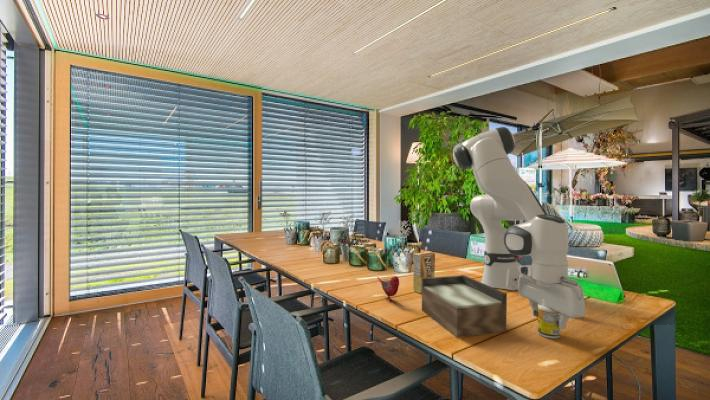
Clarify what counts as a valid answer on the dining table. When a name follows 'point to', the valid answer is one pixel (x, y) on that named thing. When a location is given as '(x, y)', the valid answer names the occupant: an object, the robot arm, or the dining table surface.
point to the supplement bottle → (548, 321)
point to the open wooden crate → (464, 305)
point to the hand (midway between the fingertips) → (548, 321)
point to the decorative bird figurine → (390, 286)
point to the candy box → (423, 269)
